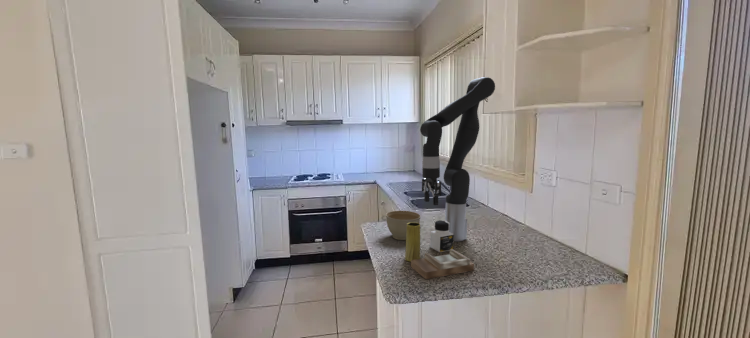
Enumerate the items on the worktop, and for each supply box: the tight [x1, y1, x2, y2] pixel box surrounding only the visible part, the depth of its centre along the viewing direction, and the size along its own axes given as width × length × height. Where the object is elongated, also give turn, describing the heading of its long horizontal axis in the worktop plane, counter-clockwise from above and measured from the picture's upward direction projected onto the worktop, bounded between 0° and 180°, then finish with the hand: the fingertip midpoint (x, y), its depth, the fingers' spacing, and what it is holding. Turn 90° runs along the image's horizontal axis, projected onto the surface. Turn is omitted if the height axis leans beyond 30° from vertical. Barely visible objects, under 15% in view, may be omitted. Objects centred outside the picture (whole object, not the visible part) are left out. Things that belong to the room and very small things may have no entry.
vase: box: [404, 222, 421, 263], centre depth 131 cm, size 6×6×14 cm
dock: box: [410, 248, 475, 280], centre depth 123 cm, size 20×11×4 cm, turn 112°
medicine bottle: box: [429, 219, 454, 253], centre depth 143 cm, size 7×7×12 cm
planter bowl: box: [385, 210, 421, 241], centre depth 157 cm, size 16×16×11 cm
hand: (431, 203), depth 148 cm, fingers open, 8 cm apart
